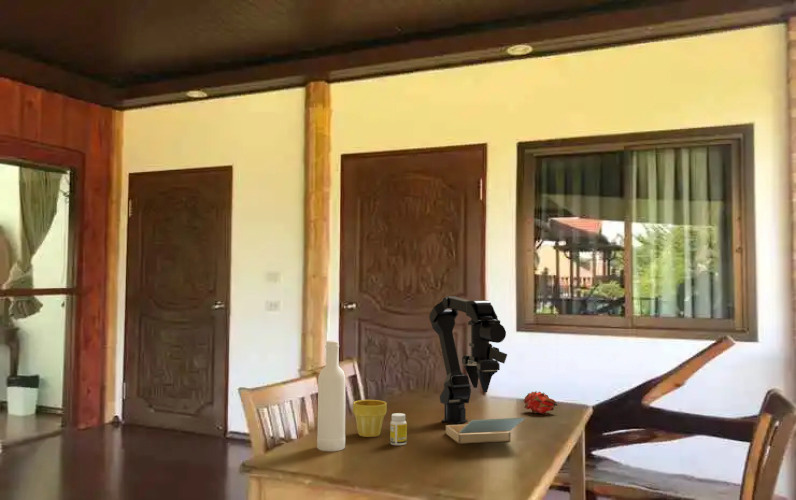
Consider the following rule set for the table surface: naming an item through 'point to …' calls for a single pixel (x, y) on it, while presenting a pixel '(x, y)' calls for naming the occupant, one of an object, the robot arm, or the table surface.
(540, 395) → the dragon fruit
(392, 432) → the supplement bottle
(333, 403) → the bottle
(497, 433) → the wooden tray
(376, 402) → the plant pot
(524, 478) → the table surface
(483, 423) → the lid
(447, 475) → the table surface
